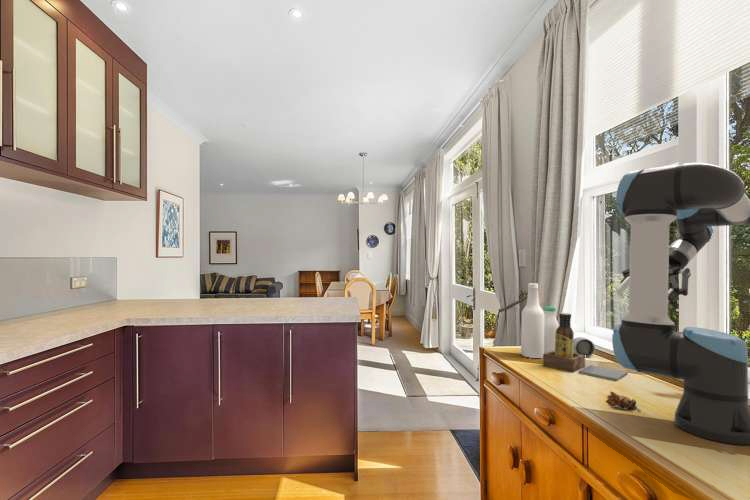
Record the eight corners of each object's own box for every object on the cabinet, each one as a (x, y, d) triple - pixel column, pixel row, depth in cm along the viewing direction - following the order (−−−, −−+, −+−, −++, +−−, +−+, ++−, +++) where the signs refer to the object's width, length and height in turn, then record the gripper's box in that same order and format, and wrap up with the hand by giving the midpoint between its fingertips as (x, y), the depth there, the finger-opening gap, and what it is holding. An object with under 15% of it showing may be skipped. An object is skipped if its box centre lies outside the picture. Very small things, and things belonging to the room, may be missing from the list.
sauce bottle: (550, 365, 152) (551, 312, 153) (563, 363, 155) (563, 311, 155) (564, 369, 146) (565, 314, 147) (577, 368, 149) (577, 314, 149)
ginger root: (622, 398, 118) (622, 385, 118) (642, 413, 106) (642, 399, 106) (597, 396, 119) (597, 384, 119) (614, 411, 107) (614, 398, 107)
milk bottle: (562, 354, 170) (562, 307, 170) (555, 357, 164) (555, 308, 164) (543, 351, 175) (543, 305, 175) (536, 354, 169) (536, 306, 170)
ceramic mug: (588, 353, 172) (588, 335, 173) (595, 358, 164) (595, 339, 165) (562, 352, 174) (561, 334, 175) (567, 357, 166) (567, 338, 167)
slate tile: (616, 381, 133) (616, 378, 133) (578, 373, 142) (578, 370, 142) (627, 374, 141) (627, 372, 141) (590, 367, 150) (590, 365, 150)
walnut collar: (573, 372, 143) (573, 359, 143) (543, 366, 151) (543, 354, 151) (584, 367, 150) (584, 355, 150) (555, 361, 158) (555, 349, 158)
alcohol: (517, 356, 165) (518, 283, 166) (525, 352, 172) (526, 282, 172) (539, 360, 159) (540, 284, 160) (547, 356, 166) (547, 283, 167)
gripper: (722, 274, 127) (682, 320, 122) (642, 255, 148) (605, 293, 144) (718, 257, 123) (677, 303, 119) (637, 240, 145) (600, 279, 141)
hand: (638, 298), depth 132 cm, fingers open, 13 cm apart
